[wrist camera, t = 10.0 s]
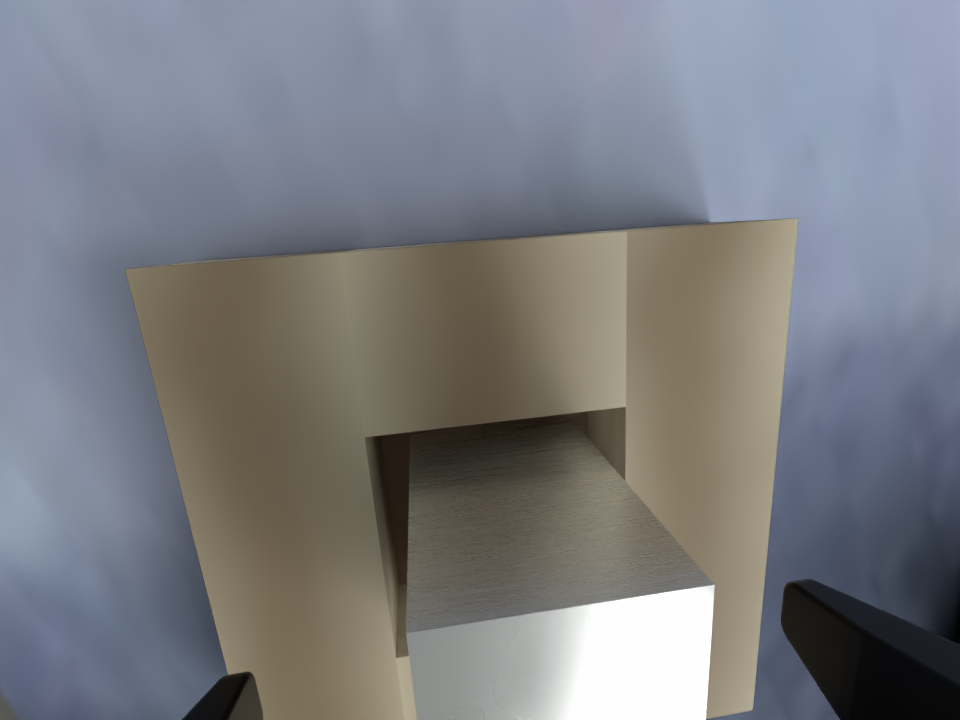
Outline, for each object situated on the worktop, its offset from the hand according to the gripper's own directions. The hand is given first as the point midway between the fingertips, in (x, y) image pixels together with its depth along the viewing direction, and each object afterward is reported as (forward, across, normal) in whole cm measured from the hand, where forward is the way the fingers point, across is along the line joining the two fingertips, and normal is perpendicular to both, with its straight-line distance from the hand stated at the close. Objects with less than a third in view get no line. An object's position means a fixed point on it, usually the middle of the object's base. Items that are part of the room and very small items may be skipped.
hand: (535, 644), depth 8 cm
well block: (+6, 0, 0) cm, 6 cm away
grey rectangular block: (+6, 0, 0) cm, 6 cm away
